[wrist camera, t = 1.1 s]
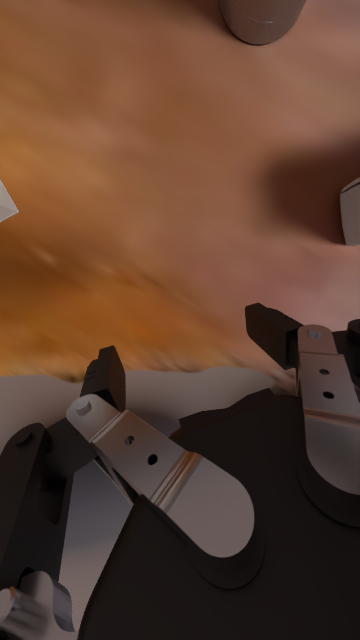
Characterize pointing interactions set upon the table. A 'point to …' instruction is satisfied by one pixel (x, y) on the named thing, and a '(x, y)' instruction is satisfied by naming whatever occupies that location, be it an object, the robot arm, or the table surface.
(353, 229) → the stereo radio cassette player
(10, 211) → the fader console
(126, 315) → the table surface
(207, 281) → the table surface
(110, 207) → the table surface
